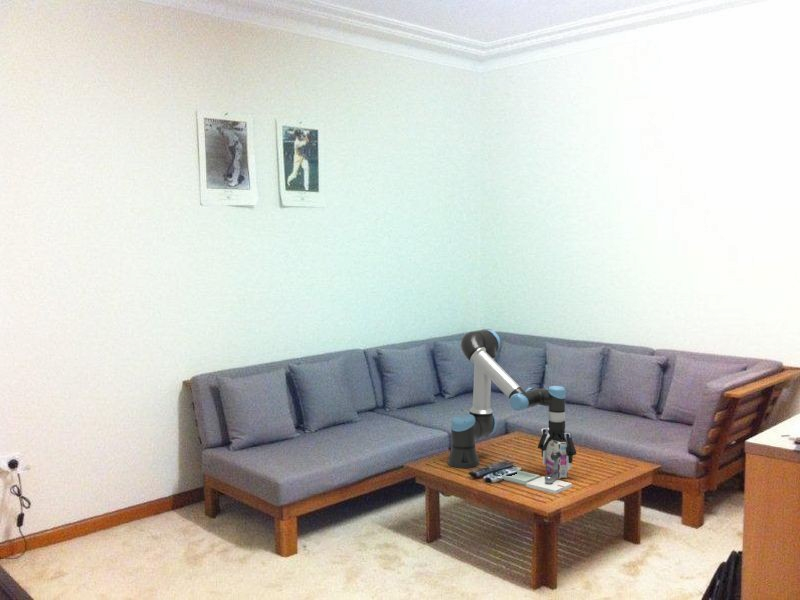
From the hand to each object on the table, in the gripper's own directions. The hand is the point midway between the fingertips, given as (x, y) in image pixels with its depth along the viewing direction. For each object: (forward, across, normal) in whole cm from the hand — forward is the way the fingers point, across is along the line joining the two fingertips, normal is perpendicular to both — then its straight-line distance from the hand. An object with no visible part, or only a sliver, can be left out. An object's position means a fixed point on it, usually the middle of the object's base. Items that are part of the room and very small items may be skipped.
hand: (556, 466), depth 332 cm
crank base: (+4, -6, +16) cm, 18 cm away
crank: (+2, -6, +12) cm, 14 cm away
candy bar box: (+4, 0, 0) cm, 4 cm away
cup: (+4, +27, -37) cm, 46 cm away
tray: (+4, +11, +16) cm, 20 cm away
